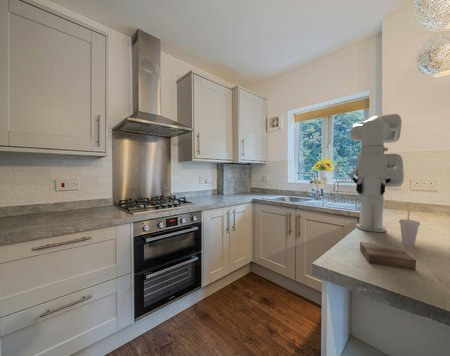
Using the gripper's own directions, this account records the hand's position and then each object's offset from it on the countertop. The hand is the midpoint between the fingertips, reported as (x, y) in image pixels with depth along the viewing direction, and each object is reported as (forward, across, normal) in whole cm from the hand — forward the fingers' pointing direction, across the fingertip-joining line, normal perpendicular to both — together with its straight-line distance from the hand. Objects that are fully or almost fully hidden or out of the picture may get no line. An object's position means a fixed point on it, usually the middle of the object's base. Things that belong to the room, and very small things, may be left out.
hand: (370, 193), depth 85 cm
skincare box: (+5, 0, 0) cm, 5 cm away
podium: (+21, -1, +16) cm, 26 cm away
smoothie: (+21, -15, -4) cm, 26 cm away
